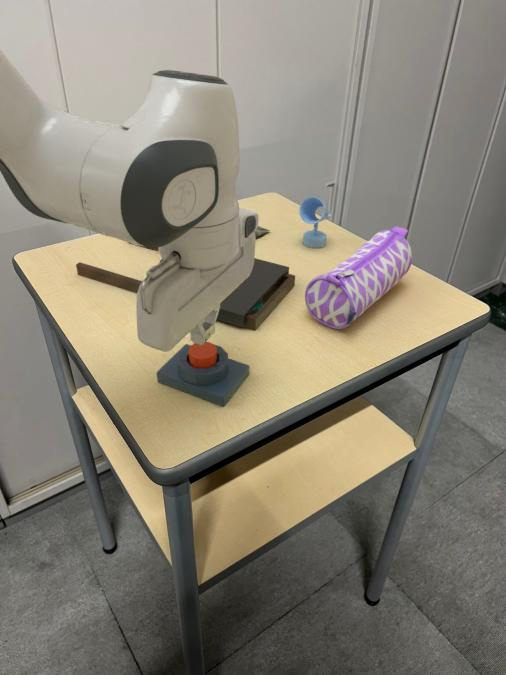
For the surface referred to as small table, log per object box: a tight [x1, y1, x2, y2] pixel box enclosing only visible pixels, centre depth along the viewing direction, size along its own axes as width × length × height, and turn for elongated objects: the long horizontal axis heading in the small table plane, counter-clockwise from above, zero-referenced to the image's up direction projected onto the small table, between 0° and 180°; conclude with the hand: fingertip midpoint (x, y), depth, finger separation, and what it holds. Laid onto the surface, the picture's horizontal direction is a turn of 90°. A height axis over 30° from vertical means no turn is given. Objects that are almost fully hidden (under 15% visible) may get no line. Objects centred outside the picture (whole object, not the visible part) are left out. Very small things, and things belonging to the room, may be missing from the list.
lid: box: [159, 257, 290, 328], centre depth 85 cm, size 17×17×5 cm
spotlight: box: [298, 196, 330, 249], centre depth 98 cm, size 5×10×7 cm
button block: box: [156, 343, 250, 408], centre depth 68 cm, size 10×7×4 cm
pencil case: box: [304, 225, 413, 330], centre depth 82 cm, size 22×9×10 cm, turn 143°
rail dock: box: [75, 243, 296, 331], centre depth 89 cm, size 35×15×2 cm, turn 63°
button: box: [188, 341, 217, 369], centre depth 66 cm, size 4×4×2 cm
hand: (203, 338), depth 64 cm, fingers closed
